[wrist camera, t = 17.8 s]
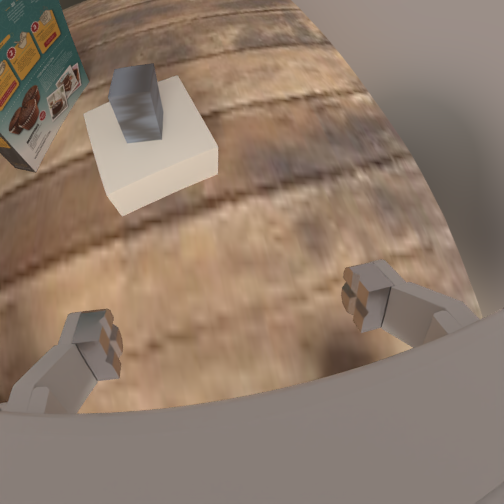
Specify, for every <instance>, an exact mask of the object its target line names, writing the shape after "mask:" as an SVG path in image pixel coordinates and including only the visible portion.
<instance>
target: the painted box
mask: <svg viewBox="0 0 504 504" xmlns="http://www.w3.org/2000/svg"><path fill="white" fill-rule="evenodd" d="M157 83H158V88H159V93H160V98H161V103H162V107H163V129H162V140H153V141H144V142H136V143H128V144H127V142H126V140H125V138H124V135H123V133H122V130H121V128H120V126H119V123H118V121H117V118H116V116H115V114H114V111H113V109H112V106H111V104H110V102H108V103H105V104H103V105H101V106H99V107H97V108H95V109H92V110H90V111H88V112H86V113H84V114H83V115H84V119H85V123H86V126H87V130H88V134H89V138H90V142H91V145H92V149H93V152H94V156H95V159H96V163H97V166H98V169H99V173H100V176H101V179H102V182H103V185H104V189H105V192H106V195H107V196H108V198H109V199H110V200H111V202H112V203H113V205H114V206H115V207H116V209H117V210H118V211H119V213H120V214H121V215H122V216H124V215H126V214H128V213H130V212H133V211H135V210H137V209H139V208H141V207H143V206H145V205H148V204H150V203H152V202H154V201H156V200H158V199H161V198H163V197H165V196H167V195H170V194H172V193H174V192H176V191H179V190H181V189H183V188H186V187H188V186H190V185H193V184H195V183H197V182H200V181H202V180H204V179H207V178H209V177H212V176H214V175H217V174H218V145H217V144H216V142H215V140H214V138H213V137H212V135H211V133H210V131H209V129H208V128H207V126H206V124H205V122H204V121H203V119H202V117H201V115H200V114H199V112H198V110H197V108H196V107H195V105H194V103H193V101H192V99H191V98H190V96H189V94H188V93H187V91H186V89H185V87H184V86H183V84H182V82H181V80H180V79H179V77H178V75H176V76H173V77H171V78H168V79H165V80H162V81H159V82H157Z"/></svg>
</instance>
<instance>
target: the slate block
mask: <svg viewBox="0 0 504 504" xmlns="http://www.w3.org/2000/svg"><path fill="white" fill-rule="evenodd" d="M108 99H109V101H110V104H111V106H112V109H113V111H114V114H115V116H116V118H117V121H118V123H119V126H120V128H121V130H122V133H123V135H124V138H125V140H126V142H127V144H128V143H136V142H144V141H153V140H162V129H163V107H162V103H161V98H160V93H159V88H158V83H157V78H156V73H155V67H154V63H153V64H145V65H138V66H131V67H125V68H119V69H115V70H114V74H113V78H112V82H111V87H110V91H109V95H108Z"/></svg>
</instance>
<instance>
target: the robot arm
mask: <svg viewBox="0 0 504 504" xmlns="http://www.w3.org/2000/svg"><path fill="white" fill-rule="evenodd" d="M343 278H344V280H345V281H346V283H345V284H344V286H343V287H342V293H341V297H342V303H343V305H344V308H345V309H346V311H347V313H349V314H352V315H354V316H353V322H354V323H355V325H356V326H357V328H358V329H359V331H360V332H361V333H363V332H366V331H370V330H374V329H378V328H381V327H382V328H381V329H383V330H385V331H386V332H388V333H390V334H391V335H393V336H395V337H396V338H398V339H400V340H401V341H403V342H405V343H406V344H408V345H410V346H411V347H413V348H412V349H410V350H407V351H404V352H402V353H399V354H396V355H394V356H391V357H388V358H385V359H382V360H379V361H376V362H373V363H370V364H367V365H364V366H361V367H358V368H355V369H351V370H348V371H345V372H341V373H338V374H335V375H331V376H328V377H324V378H320V379H317V380H313V381H309V382H305V383H301V384H297V385H293V386H289V387H285V388H280V389H276V390H272V391H267V392H262V393H258V394H253V395H248V396H242V397H237V398H232V399H226V400H220V401H214V402H208V403H201V404H194V405H187V406H179V407H171V408H162V409H152V410H141V411H129V412H113V413H86V414H76V413H77V412H78V410H79V409H80V407H81V406H82V404H83V403H84V401H85V400H86V398H87V397H88V396H89V394H90V393H91V391H92V390H93V388H94V387H95V385H96V384H97V381H101V380H110V379H119V378H120V370H121V362H120V360H119V357H120V356H121V355H122V352H123V343H122V337H121V333H120V331H119V328H118V327H117V326H115V325H114V324H113V320H114V317H113V315H112V313H111V310H109V309H100V310H91V311H83V312H75V313H70V314H69V315H68V316H67V319H66V322H65V325H64V328H63V331H62V334H61V337H60V340H59V343H58V345H56V346H53V347H52V348H51V349H50V350H49V351H48V352H47V353H46V354H45V355H44V356H43V357H42V358H41V359H40V360H39V361H38V362H37V363H36V364H34V365H33V366H32V367H31V368H30V369H29V370H28V371H27V372H26V373H25V374H24V375H23V376H22V377H21V378H20V379H19V380H18V381H17V382H16V383H15V384H14V385H13V388H12V391H11V394H10V397H9V400H8V402H3V403H0V504H504V308H502V309H500V310H498V311H496V312H494V313H492V314H490V315H488V316H487V317H484V318H482V319H479V318H478V317H477V316H476V315H475V314H474V313H473V312H472V311H471V310H470V309H469V308H468V307H467V306H466V305H465V304H464V303H463V302H462V301H459V300H457V299H454V298H451V297H449V296H446V295H444V294H441V293H438V292H436V291H433V290H430V289H428V288H425V287H422V286H420V285H417V284H414V283H412V282H407V283H406V282H405V280H404V279H403V278H402V277H401V276H400V275H399V274H398V273H397V272H396V271H395V270H394V269H393V268H392V267H391V266H390V265H389V264H388V263H387V262H386V261H385V260H382V259H380V260H376V261H372V262H370V263H365V264H361V265H356V266H351V267H346V268H345V270H344V274H343Z"/></svg>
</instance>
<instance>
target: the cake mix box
mask: <svg viewBox="0 0 504 504" xmlns="http://www.w3.org/2000/svg"><path fill="white" fill-rule="evenodd" d="M88 83H89V80H88V78H87V75H86V73H85V70H84V68H83V65H82V63H81V60H80V58H79V55H78V53H77V50H76V47H75V45H74V42H73V39H72V37H71V34H70V31H69V29H68V26H67V23H66V20H65V17H64V15H63V12H62V9H61V6H60V3H59V0H0V153H1V154H2V155H3V156H4V157H5V158H6V159H7V160H8V161H9V162H10V163H11V164H12V165H13V166H14V167H15V168H18V169H22V170H27V171H32V172H37V169H38V167H39V165H40V163H41V161H42V159H43V158H44V156H45V154H46V152H47V150H48V148H49V146H50V144H51V143H52V141H53V139H54V137H55V135H56V134H57V132H58V130H59V128H60V127H61V125H62V123H63V122H64V120H65V118H66V117H67V115H68V113H69V112H70V110H71V109H72V107H73V105H74V104H75V102H76V101H77V99H78V98H79V96H80V95H81V93H82V92H83V90H84V89H85V87H86V86H87V84H88Z"/></svg>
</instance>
